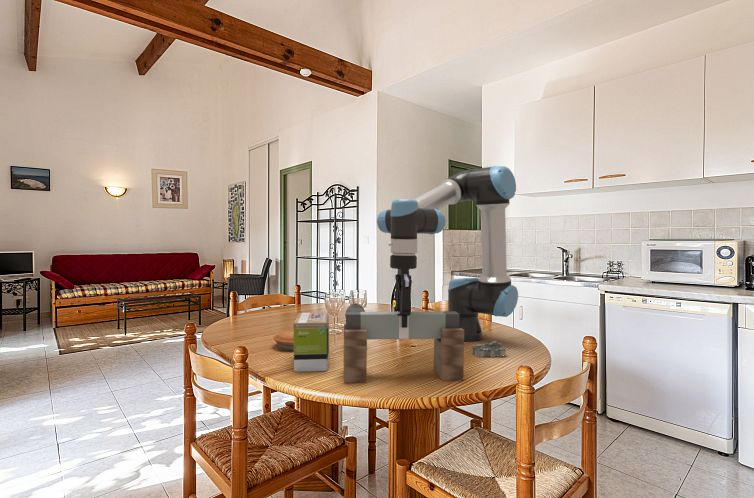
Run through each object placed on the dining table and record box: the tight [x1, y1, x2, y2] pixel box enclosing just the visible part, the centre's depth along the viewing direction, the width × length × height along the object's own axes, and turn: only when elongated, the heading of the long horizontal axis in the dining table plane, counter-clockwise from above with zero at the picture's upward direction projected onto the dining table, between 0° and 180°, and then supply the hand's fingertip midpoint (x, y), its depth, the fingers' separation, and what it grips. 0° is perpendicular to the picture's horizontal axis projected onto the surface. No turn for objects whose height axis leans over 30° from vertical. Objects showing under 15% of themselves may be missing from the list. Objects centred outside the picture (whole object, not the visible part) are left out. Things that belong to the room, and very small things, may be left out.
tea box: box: [292, 311, 330, 373], centre depth 127 cm, size 15×10×15 cm, turn 5°
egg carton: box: [470, 340, 507, 358], centre depth 140 cm, size 11×8×4 cm
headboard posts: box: [343, 322, 465, 384], centre depth 118 cm, size 33×10×14 cm, turn 96°
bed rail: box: [345, 310, 459, 341], centre depth 118 cm, size 32×4×7 cm, turn 96°
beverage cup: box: [344, 290, 366, 317], centre depth 145 cm, size 7×7×20 cm
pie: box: [272, 329, 294, 352], centre depth 147 cm, size 15×16×5 cm
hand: (402, 336), depth 118 cm, fingers closed on bed rail, 4 cm apart
